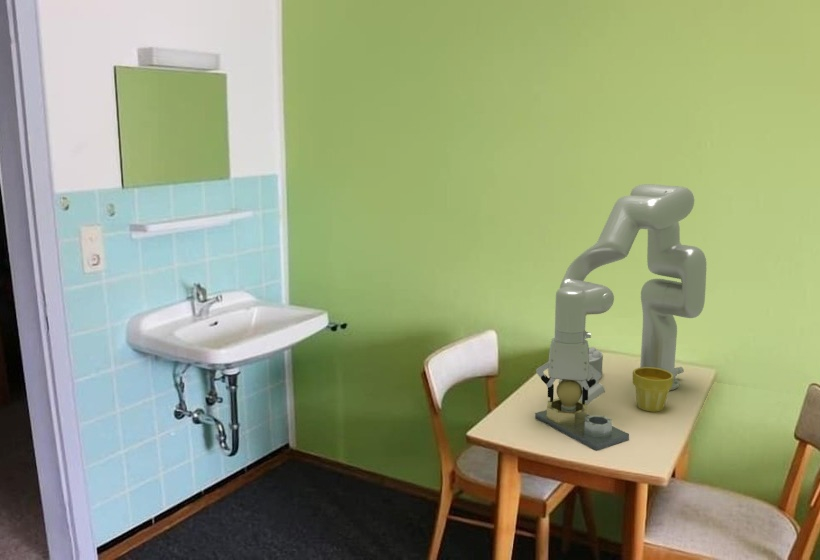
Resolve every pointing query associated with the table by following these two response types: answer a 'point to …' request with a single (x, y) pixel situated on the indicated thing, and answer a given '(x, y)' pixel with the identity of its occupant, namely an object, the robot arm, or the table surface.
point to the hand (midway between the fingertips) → (567, 400)
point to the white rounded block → (591, 389)
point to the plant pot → (652, 387)
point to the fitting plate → (582, 425)
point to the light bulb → (569, 394)
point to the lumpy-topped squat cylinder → (596, 359)
